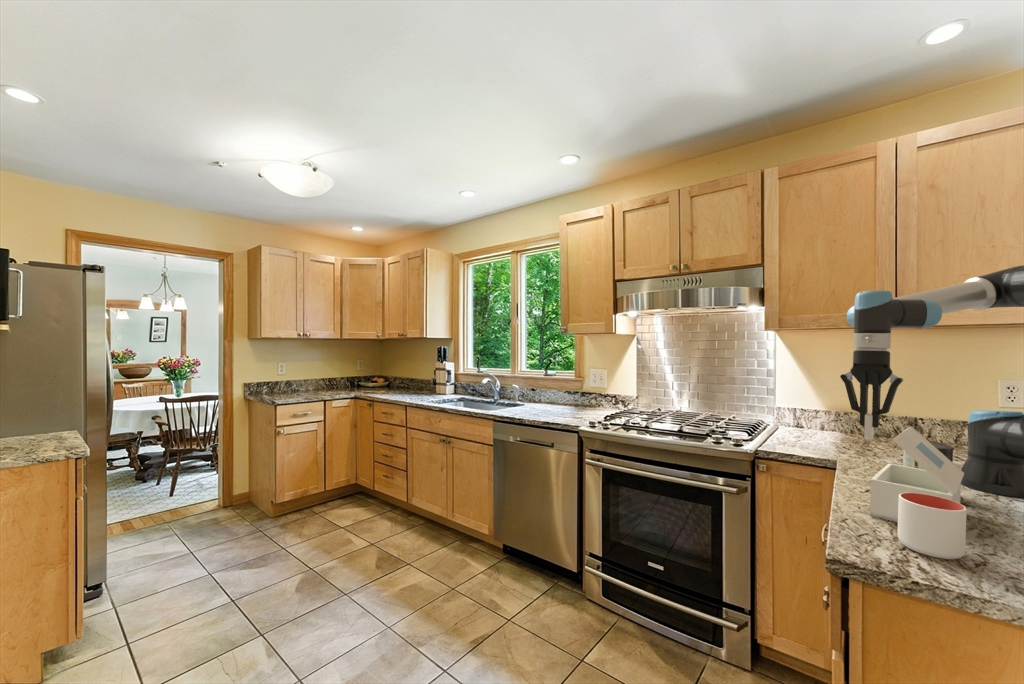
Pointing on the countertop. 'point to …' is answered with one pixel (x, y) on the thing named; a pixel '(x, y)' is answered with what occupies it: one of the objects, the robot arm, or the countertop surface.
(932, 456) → the lid
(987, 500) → the countertop surface
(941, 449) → the coffee can
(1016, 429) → the robot arm
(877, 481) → the box
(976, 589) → the countertop surface
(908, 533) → the cup
